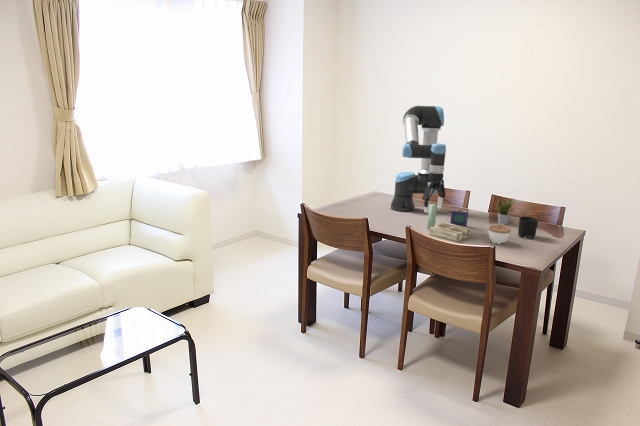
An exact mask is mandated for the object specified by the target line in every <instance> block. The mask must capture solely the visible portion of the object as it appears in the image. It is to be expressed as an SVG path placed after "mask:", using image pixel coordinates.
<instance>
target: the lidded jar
mask: <svg viewBox="0 0 640 426" xmlns="http://www.w3.org/2000/svg"><path fill="white" fill-rule="evenodd" d="M511 232H512V231H511V228H509V227H507V226H505V225H501V224H498V225H490V226H489V227H488V237H489V240H490V241H491V243H492V242H493V244H495V243H500V244H499V245H502V244H501V243H504V244H505V243H506V242H507V241H508V240H509V238H510V235H511Z"/></svg>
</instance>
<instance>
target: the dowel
mask: <svg viewBox="0 0 640 426" xmlns="http://www.w3.org/2000/svg"><path fill="white" fill-rule="evenodd" d="M437 209H438V208H437V204H436V203H431V204H430V205H429V213H428V216H427V217H428V218H427V228H426V229H427V230H428V231H429V230H430V227H433V226H436V222H437V221H436V219H437Z"/></svg>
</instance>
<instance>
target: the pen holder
mask: <svg viewBox="0 0 640 426" xmlns="http://www.w3.org/2000/svg"><path fill="white" fill-rule="evenodd" d="M538 224H539V220H537V219H536V218H535V217H531V216H520V217H519V221H518V231H517V236H518V235H519V236H521V237H520V238H522V237H526V238H533V237H535V238H536V233H537V229H538ZM519 236H518V237H519ZM526 238H525V239H526ZM533 239H534V238H533Z"/></svg>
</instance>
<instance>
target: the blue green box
mask: <svg viewBox="0 0 640 426" xmlns="http://www.w3.org/2000/svg"><path fill="white" fill-rule="evenodd" d="M468 217H469V211H468V210H462V207H459V209H452V210H451V214H450V224H454V225H458V226H462V227H466V228H468Z"/></svg>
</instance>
